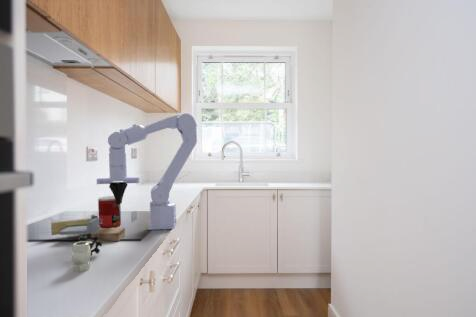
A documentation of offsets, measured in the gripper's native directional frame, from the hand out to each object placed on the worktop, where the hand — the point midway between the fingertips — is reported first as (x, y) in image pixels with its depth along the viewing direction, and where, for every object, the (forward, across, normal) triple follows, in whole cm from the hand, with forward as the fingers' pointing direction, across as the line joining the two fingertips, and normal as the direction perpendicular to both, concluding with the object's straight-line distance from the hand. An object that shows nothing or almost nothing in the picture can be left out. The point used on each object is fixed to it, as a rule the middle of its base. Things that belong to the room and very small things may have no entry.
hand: (119, 203), depth 110 cm
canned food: (+10, -6, +8) cm, 14 cm away
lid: (+7, -10, -10) cm, 15 cm away
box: (+10, -2, -10) cm, 14 cm away
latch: (+8, -13, -5) cm, 17 cm away
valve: (+10, +1, -32) cm, 33 cm away
